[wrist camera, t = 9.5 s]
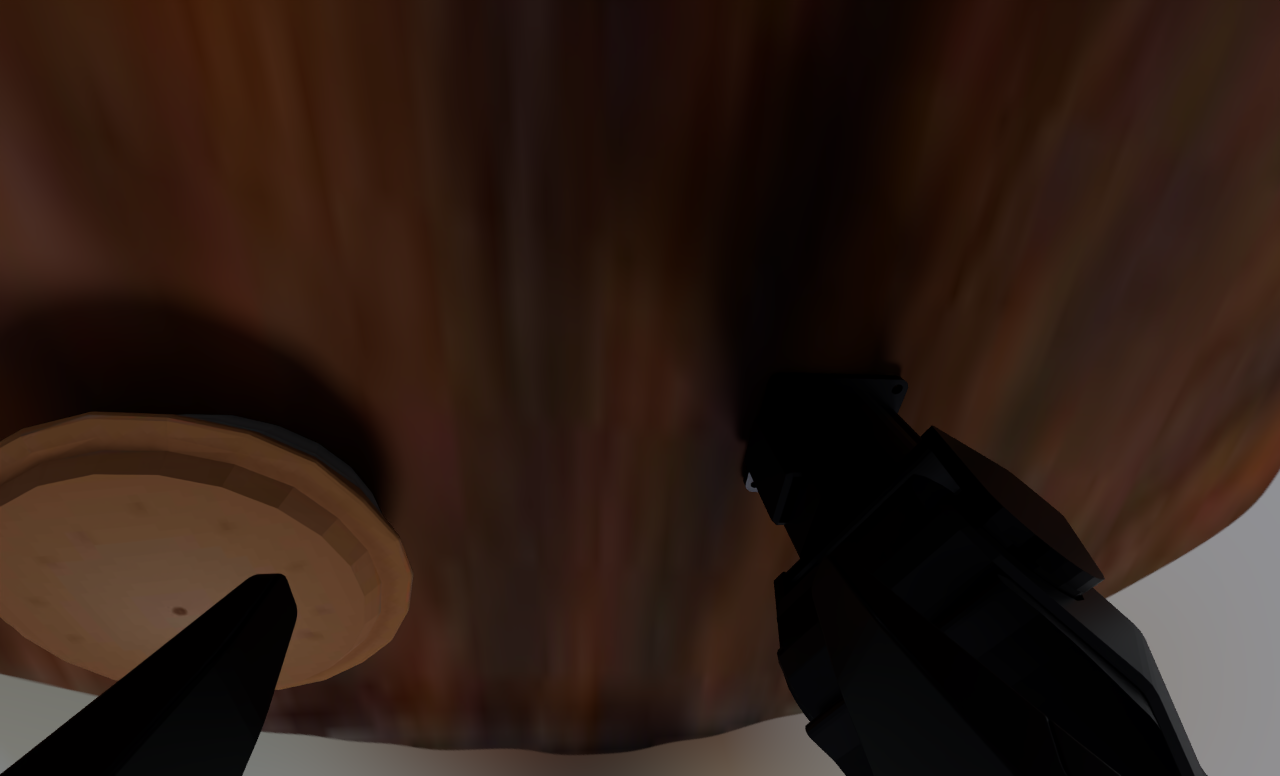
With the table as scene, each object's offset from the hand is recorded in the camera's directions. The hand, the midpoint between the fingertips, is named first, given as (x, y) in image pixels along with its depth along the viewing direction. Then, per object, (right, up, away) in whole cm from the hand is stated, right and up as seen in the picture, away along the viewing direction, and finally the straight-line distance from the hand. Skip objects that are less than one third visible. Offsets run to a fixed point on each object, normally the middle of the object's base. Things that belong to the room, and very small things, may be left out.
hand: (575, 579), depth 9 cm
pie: (-17, -2, +15) cm, 22 cm away
